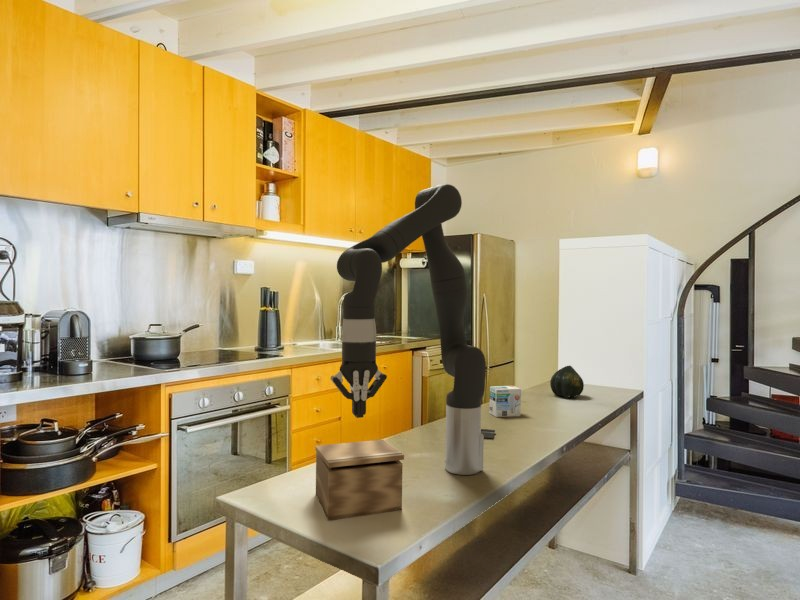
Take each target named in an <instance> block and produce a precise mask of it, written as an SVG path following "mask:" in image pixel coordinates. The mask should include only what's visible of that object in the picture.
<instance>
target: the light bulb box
mask: <svg viewBox="0 0 800 600" xmlns="http://www.w3.org/2000/svg"><path fill="white" fill-rule="evenodd" d="M521 402H522V389H521V388H520V387H517V386H515V385H497V386H496V385H495V386H489V410H488V411H489V414H491V416H494V417H496V418H501V417H504V418H505V417H521V404H522V403H521Z"/></svg>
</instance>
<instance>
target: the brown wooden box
mask: <svg viewBox="0 0 800 600" xmlns="http://www.w3.org/2000/svg"><path fill="white" fill-rule="evenodd" d="M315 496H316V498H317V500H318V503H319V504H320V506H321V508H322V510H323V513H324V514H325V516H326V518H327V520H328V522H329V521H334V520H335V521H336V520H341V519H348V518H354V517H363V516H369V515H375V514H383V513H389V512H397V511H402V510H403V463H402V461H401V460H396V461H387V462H377V463H368V464H359V465H350V466H341V467H332V468H328V466H327V465H326V464H325V462H324V461H323V460H322V458H321V457H320V456H319V454H318V453H317V452H316V451H315Z"/></svg>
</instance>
